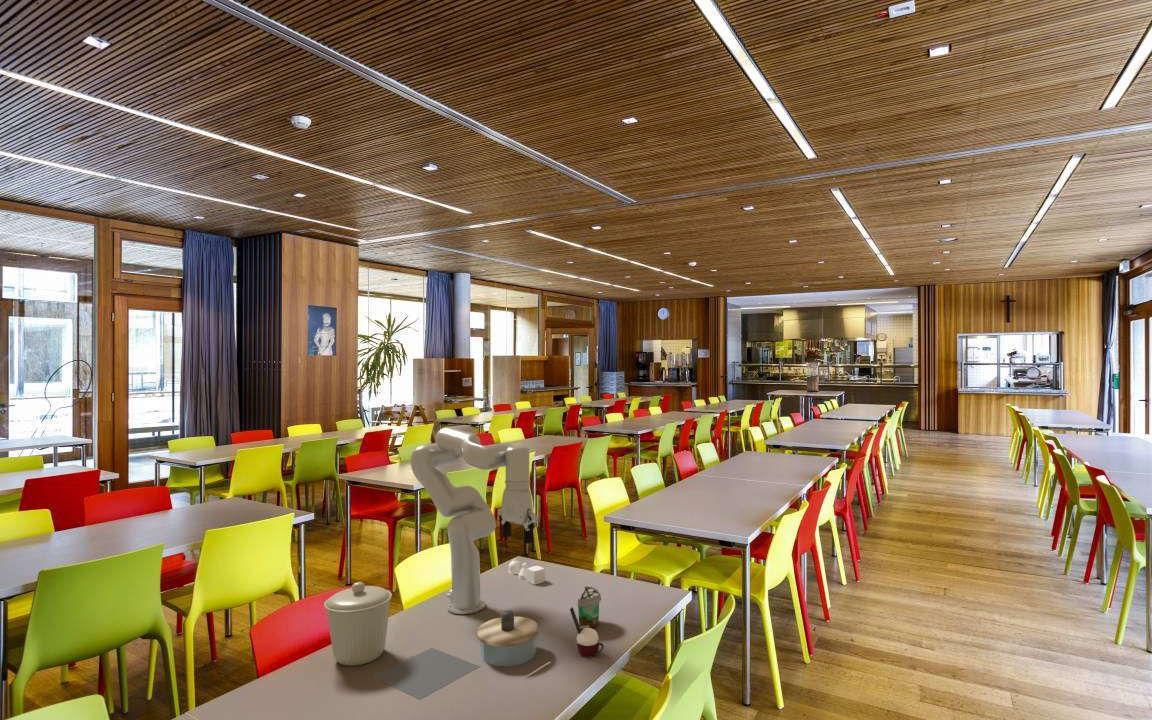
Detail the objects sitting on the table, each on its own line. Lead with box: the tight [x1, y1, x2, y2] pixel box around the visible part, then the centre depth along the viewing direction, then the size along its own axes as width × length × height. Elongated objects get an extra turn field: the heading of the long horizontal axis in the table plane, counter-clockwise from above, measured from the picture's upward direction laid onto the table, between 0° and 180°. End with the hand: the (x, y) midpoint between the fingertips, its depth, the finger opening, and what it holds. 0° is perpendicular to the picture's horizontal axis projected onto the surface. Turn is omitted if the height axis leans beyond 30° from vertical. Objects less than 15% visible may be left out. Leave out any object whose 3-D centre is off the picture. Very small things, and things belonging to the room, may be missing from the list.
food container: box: [577, 585, 602, 631], centre depth 189 cm, size 12×6×10 cm, turn 168°
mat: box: [371, 647, 481, 701], centre depth 161 cm, size 20×20×1 cm
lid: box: [476, 609, 539, 647], centre depth 171 cm, size 17×17×6 cm
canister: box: [323, 581, 393, 667], centre depth 171 cm, size 18×18×21 cm
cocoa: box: [569, 607, 605, 658], centre depth 170 cm, size 10×6×12 cm, turn 46°
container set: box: [508, 558, 546, 585], centre depth 235 cm, size 20×5×6 cm, turn 38°
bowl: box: [479, 636, 537, 667], centre depth 170 cm, size 15×15×6 cm
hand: (517, 539), depth 191 cm, fingers open, 9 cm apart
